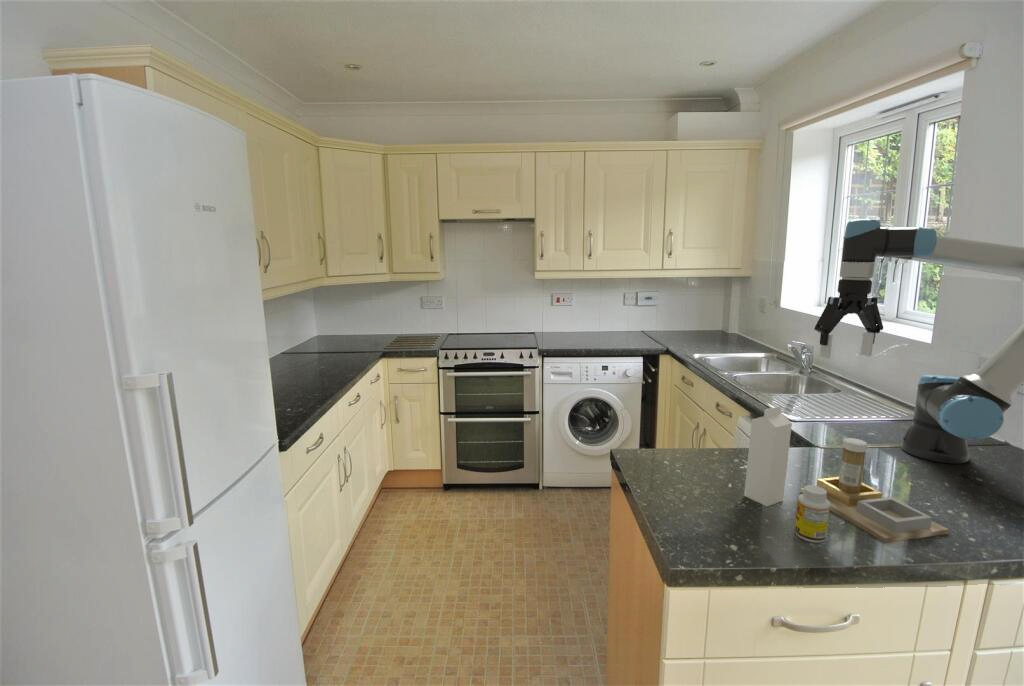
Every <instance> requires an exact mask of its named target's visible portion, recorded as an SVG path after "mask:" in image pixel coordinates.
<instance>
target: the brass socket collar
mask: <svg viewBox="0 0 1024 686" xmlns="http://www.w3.org/2000/svg"><path fill="white" fill-rule="evenodd" d="M816 480H817V481H816V486H818V487H821V488H823V489H825V490H826V491H827V495H828V496H830V497H832V498H833V499H835V500H837V501H839V502H840V503H842V504H844V505H846V506H847V507H853V506H857V502H858V501H861V500H869V499H878V498H882V496H884V495H883V494H884V492H882V491H880V490H877V488H874V487H872V486H870V485H868V484H866V483H864V482H862V484H861V488H860V493H855V494H849V493H847V492H845V491H843V490H841V489H839V488H838V485H839V476H836V477H834V476H832V477H825V478H824V477H823V478H817V479H816Z"/></svg>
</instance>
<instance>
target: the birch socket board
mask: <svg viewBox="0 0 1024 686" xmlns="http://www.w3.org/2000/svg"><path fill="white" fill-rule="evenodd" d="M803 491H804V487H800V489H799V493H801V494H802V493H803ZM882 498H887V496H884V495H882ZM826 499H827V500H828V501H829V502H830V510H829V511H831V512H833V514H835V515H838V516H839V517H841V518H842V519H844V520H845V521H848V522H849V523H851V524H853V525H855V527H857V528H859V529H860V530H863V531H864V532H866V533H868V534H870V535H871V536H873V537H875V538H876V539H878V540H880V541H881V542H883V543H891V542H893V543H894V542H901V541H906V540H912V539H913V540H914V539H921V538H928V537H935V536H943V535H949V531H950V530H949V529H948V528H947V527H945V526H943V525H941V524H939V523H936V522H935V521H933V520H932V522H931V527H930V529H924V530H917V531H909V532H902V533H893V532H891V531H890V530H888V529H886V528H884V527H883V526H881V525H879V524H877V523H876V522H874V521H872V520H870V519H868V518H867V517H865V516H863V515H861V514H860V513H858V512H856V509H857V506H853V507H847V506H846V505H844V504H842V503H840V502H839V501H837V500H835V499H833V498H832V497H830V496H828V495H827V498H826ZM882 512H884V513H886V514H888V515H889V516H891V517H893V518H895V519H900V518H904V517H902V516H900V515H898V514H897V513H895V512H893V511H891V510H887V511H882Z"/></svg>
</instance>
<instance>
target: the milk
mask: <svg viewBox="0 0 1024 686" xmlns="http://www.w3.org/2000/svg"><path fill="white" fill-rule="evenodd" d="M763 414H764V415H763V416H760V417H756V418H752V419H751V425H750V434H749V442H748V443H749V445H748V453H747V463H746V471H745V472H746V473H745V474H746V475H745V483H744V492H743V494H744V495H743V496H744V497H746V498H748V499H750V500H752V501H754V502H756V503H759V504H761V505H763V506H765V507H770V506H772V505H775V504H778V503H780V502H783V500H784V494H785V486H786V477H787V468H788V461H789V460H788V459H789V452H790V451H789V450H790V443H791V435H792V427H793V426H792V425H793V424H792V422H791V421H790V420H789V419H788V418H787V417H786V416H785V415H784V414H783V413H782V407H781V406H780V405H779V406H775V407H771V408H767V409H766V408H765V410H764V413H763Z"/></svg>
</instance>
